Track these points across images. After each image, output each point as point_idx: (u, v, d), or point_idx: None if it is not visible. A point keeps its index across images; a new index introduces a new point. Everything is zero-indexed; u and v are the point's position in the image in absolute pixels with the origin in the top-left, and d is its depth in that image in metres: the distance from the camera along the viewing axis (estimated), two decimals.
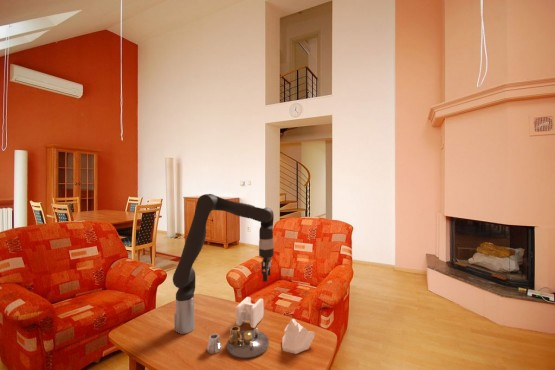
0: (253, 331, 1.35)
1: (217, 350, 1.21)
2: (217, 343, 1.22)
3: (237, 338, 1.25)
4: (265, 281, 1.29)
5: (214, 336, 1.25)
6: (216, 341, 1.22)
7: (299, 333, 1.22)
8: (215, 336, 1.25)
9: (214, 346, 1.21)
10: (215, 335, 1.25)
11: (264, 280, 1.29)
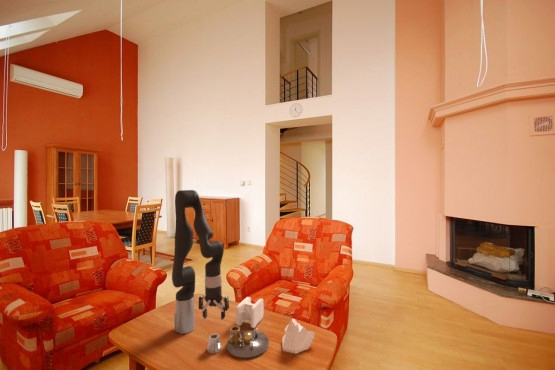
0: (253, 331, 1.35)
1: (217, 350, 1.21)
2: (217, 343, 1.22)
3: (237, 338, 1.25)
4: (223, 318, 1.23)
5: (214, 336, 1.25)
6: (216, 341, 1.22)
7: (299, 333, 1.22)
8: (215, 336, 1.25)
9: (214, 346, 1.21)
10: (215, 335, 1.25)
11: None
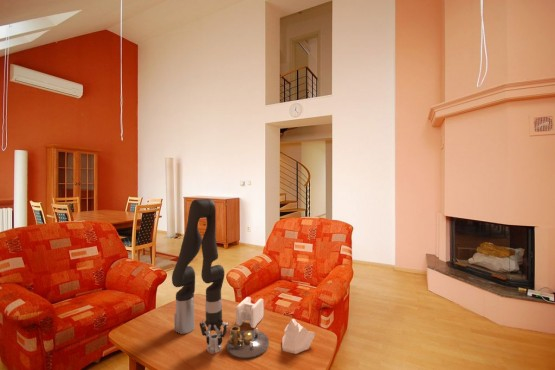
0: (253, 331, 1.35)
1: (217, 350, 1.21)
2: (217, 343, 1.22)
3: (237, 338, 1.25)
4: None
5: (214, 336, 1.25)
6: (216, 341, 1.22)
7: (299, 333, 1.22)
8: (215, 336, 1.25)
9: (214, 346, 1.21)
10: (215, 335, 1.25)
11: None
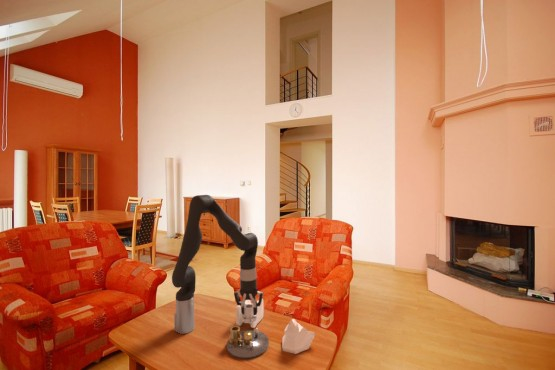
0: (253, 331, 1.35)
1: (253, 320, 1.17)
2: (252, 313, 1.18)
3: (237, 338, 1.25)
4: (255, 314, 1.20)
5: (249, 306, 1.21)
6: (252, 310, 1.18)
7: (299, 333, 1.22)
8: (250, 306, 1.21)
9: (250, 316, 1.18)
10: (250, 305, 1.21)
11: (256, 312, 1.19)
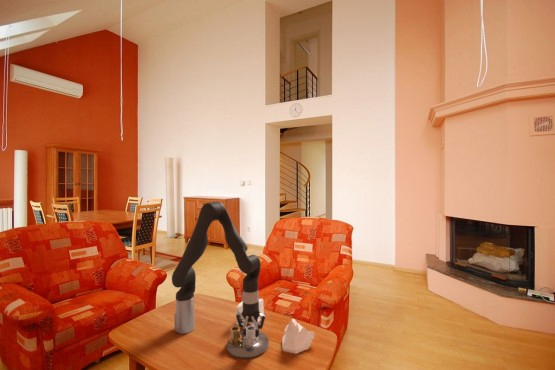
0: None
1: (255, 342, 1.18)
2: (254, 335, 1.19)
3: (237, 338, 1.25)
4: (257, 336, 1.20)
5: (250, 328, 1.22)
6: (253, 333, 1.18)
7: (299, 333, 1.22)
8: (251, 328, 1.22)
9: (252, 338, 1.18)
10: (251, 327, 1.22)
11: (258, 335, 1.20)
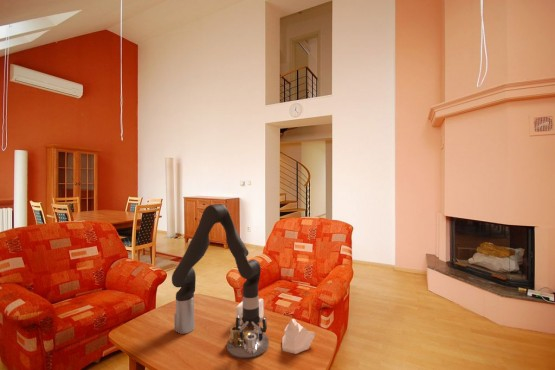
0: (253, 331, 1.35)
1: (255, 351, 1.18)
2: (254, 343, 1.19)
3: (237, 338, 1.25)
4: (261, 339, 1.20)
5: (250, 336, 1.22)
6: (253, 341, 1.18)
7: (299, 333, 1.22)
8: (251, 336, 1.22)
9: (252, 346, 1.18)
10: (251, 335, 1.22)
11: None
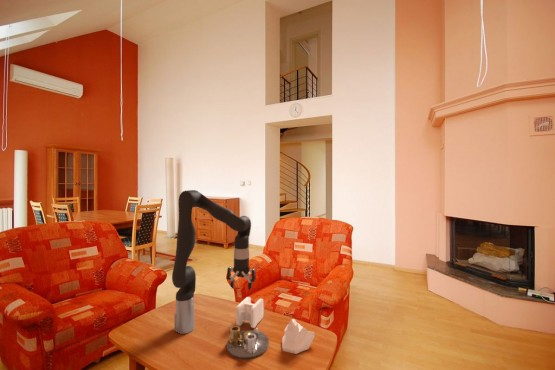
0: (253, 331, 1.35)
1: (255, 351, 1.18)
2: (254, 343, 1.19)
3: (237, 338, 1.25)
4: (250, 288, 1.30)
5: (250, 336, 1.22)
6: (253, 341, 1.18)
7: (299, 333, 1.22)
8: (251, 336, 1.22)
9: (252, 346, 1.18)
10: (251, 335, 1.22)
11: (251, 287, 1.29)
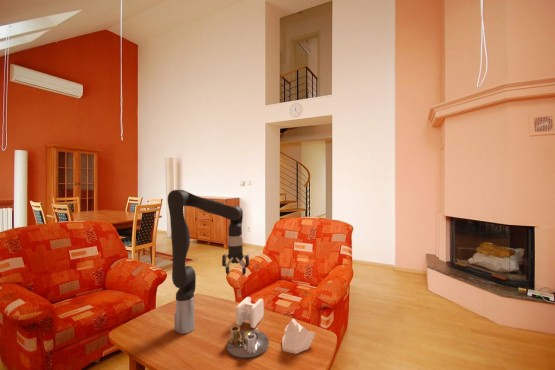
0: (253, 331, 1.35)
1: (255, 351, 1.18)
2: (254, 343, 1.19)
3: (237, 338, 1.25)
4: None
5: (250, 336, 1.22)
6: (253, 341, 1.18)
7: (299, 333, 1.22)
8: (251, 336, 1.22)
9: (252, 346, 1.18)
10: (251, 335, 1.22)
11: None
